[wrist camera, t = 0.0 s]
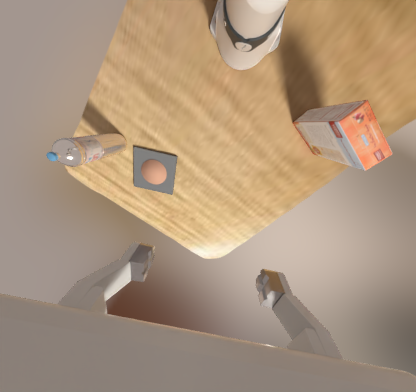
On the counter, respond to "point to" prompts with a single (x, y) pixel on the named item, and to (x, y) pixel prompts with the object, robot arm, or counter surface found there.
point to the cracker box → (344, 134)
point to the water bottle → (86, 148)
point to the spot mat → (154, 170)
